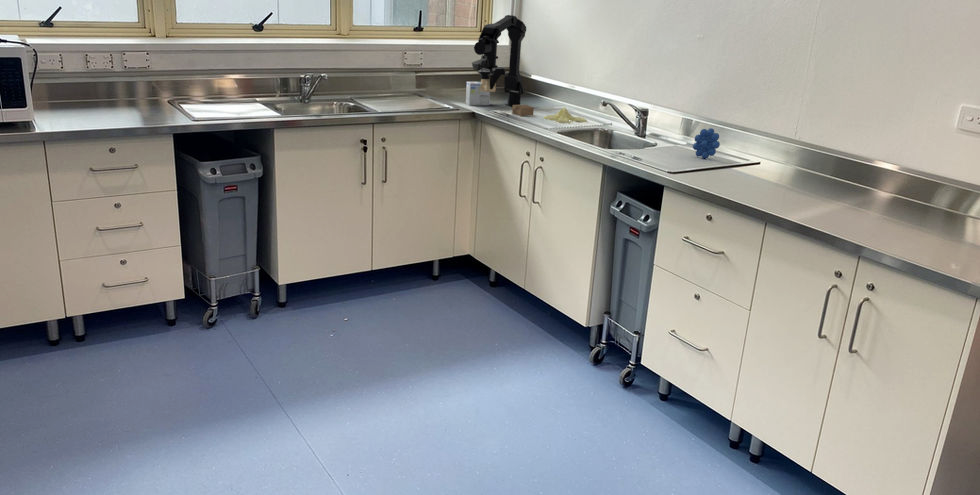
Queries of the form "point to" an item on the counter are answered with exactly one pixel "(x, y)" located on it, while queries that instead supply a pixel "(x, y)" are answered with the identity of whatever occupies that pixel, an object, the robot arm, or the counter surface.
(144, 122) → the counter surface
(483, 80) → the oak cube
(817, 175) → the counter surface
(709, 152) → the blue flower shape
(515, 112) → the walnut base block
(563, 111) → the cloth
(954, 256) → the counter surface
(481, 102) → the light bulb box
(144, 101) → the counter surface
